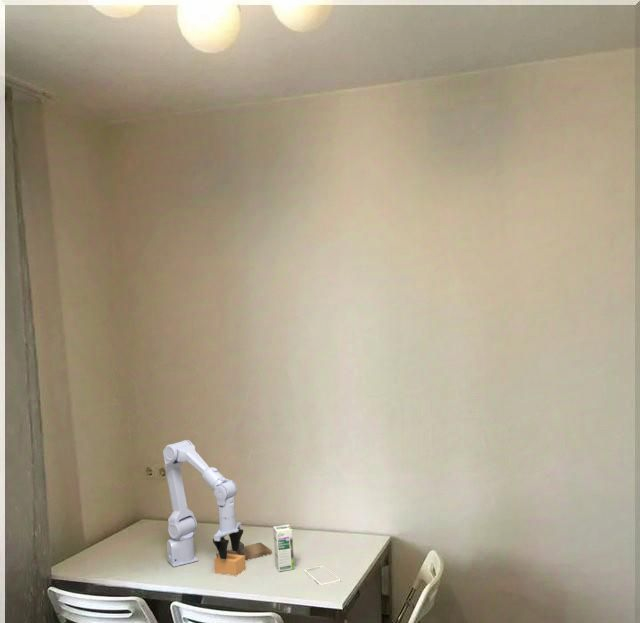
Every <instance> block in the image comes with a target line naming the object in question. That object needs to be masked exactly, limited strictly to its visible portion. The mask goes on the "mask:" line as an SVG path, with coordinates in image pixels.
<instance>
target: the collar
mask: <svg viewBox="0 0 640 623" xmlns="http://www.w3.org/2000/svg"><path fill="white" fill-rule="evenodd" d="M213 563H214V564H213V565H214V567H213V568H214V574H218V573H222V574H221V575H225V574H230V575H229V576H231V575H238V574H239V573H240V574H242V573H243V572H244V571H243V570H245V569H246V561H245V556H244V555H236V554H229V553H227V558H226V559H221V558H220V555H219V556H218V557H217V556H215V558H213ZM242 571H243V572H242ZM245 571H246V570H245ZM241 572H242V573H241ZM240 574H239V575H240ZM239 575H238V576H239Z"/></svg>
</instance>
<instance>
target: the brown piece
mask: <svg viewBox="0 0 640 623" xmlns="http://www.w3.org/2000/svg"><path fill="white" fill-rule="evenodd" d="M272 552H273V551H272V549H271V548H269V547H268V546H266V545H265V544H263V543H262V542H256V543H252V544H251V543H250V544H248V545H245V544H244V543H243V542H242V541H240V543H239V549H238V551H232V548H231V549H227V553H229V554H236V555H244V556H245V560H246V561H249V560H248V559H250V560H252V558H254V559H256V557H257V558H261V557H264V556H263V555H265V556H268V555H267V554H269V555H272V554H271V553H272ZM218 556H219V552H218V551H217V552H216V556H215V557H218ZM260 556H261V557H260Z"/></svg>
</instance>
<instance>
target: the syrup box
mask: <svg viewBox="0 0 640 623" xmlns="http://www.w3.org/2000/svg"><path fill="white" fill-rule="evenodd" d="M272 528H273V530H272V531H273V543H274V544H273V546H274V547H273V548H274V562H275V567H277V568H276V569H277V571H278V572H279V571H281V572H286V571H292V570H295V560H294V559H295V556H294V542H293V540H294V538H293V529H292V527H291V525H290V524H283V525H277V526H273V527H272Z"/></svg>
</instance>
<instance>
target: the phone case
mask: <svg viewBox="0 0 640 623" xmlns="http://www.w3.org/2000/svg"><path fill="white" fill-rule="evenodd" d="M315 568H319V569H323V568H324V569H323V570H325V571H326V572H327V571H328V572H329V573H330V576H332V575H333V576H334V577H335V578H334V579H335V580H332V581H329V582H324V583H321V582H320V581H318V580H317V579H316V578H315V577H314V576H313V575H312V574H310V572H308V570H311V569H315ZM303 572H305V573H304V574H306V575H307V576H308V577H309V576H310V577H311V578H312V579H313V580H315V582H316V583H317V584H318V586H319V585H320V586H324V587H326V586H325V585H328V586H330V585H329V584H332V585H335V584H334V583H337V584H340V583H341V578H339V577H338V576H337V575H336V574H335V573H333V572H332V571H330V570H329V569H328V568H327V567H326V566H324V565H317V566H312V567H308V568H304V569H303ZM328 572H327V573H328ZM329 573H328V574H329ZM333 576H332V577H333ZM310 577H309V578H310ZM311 578H310V579H311ZM312 579H311V580H312ZM339 582H340V583H339ZM320 586H319V587H320Z"/></svg>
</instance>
